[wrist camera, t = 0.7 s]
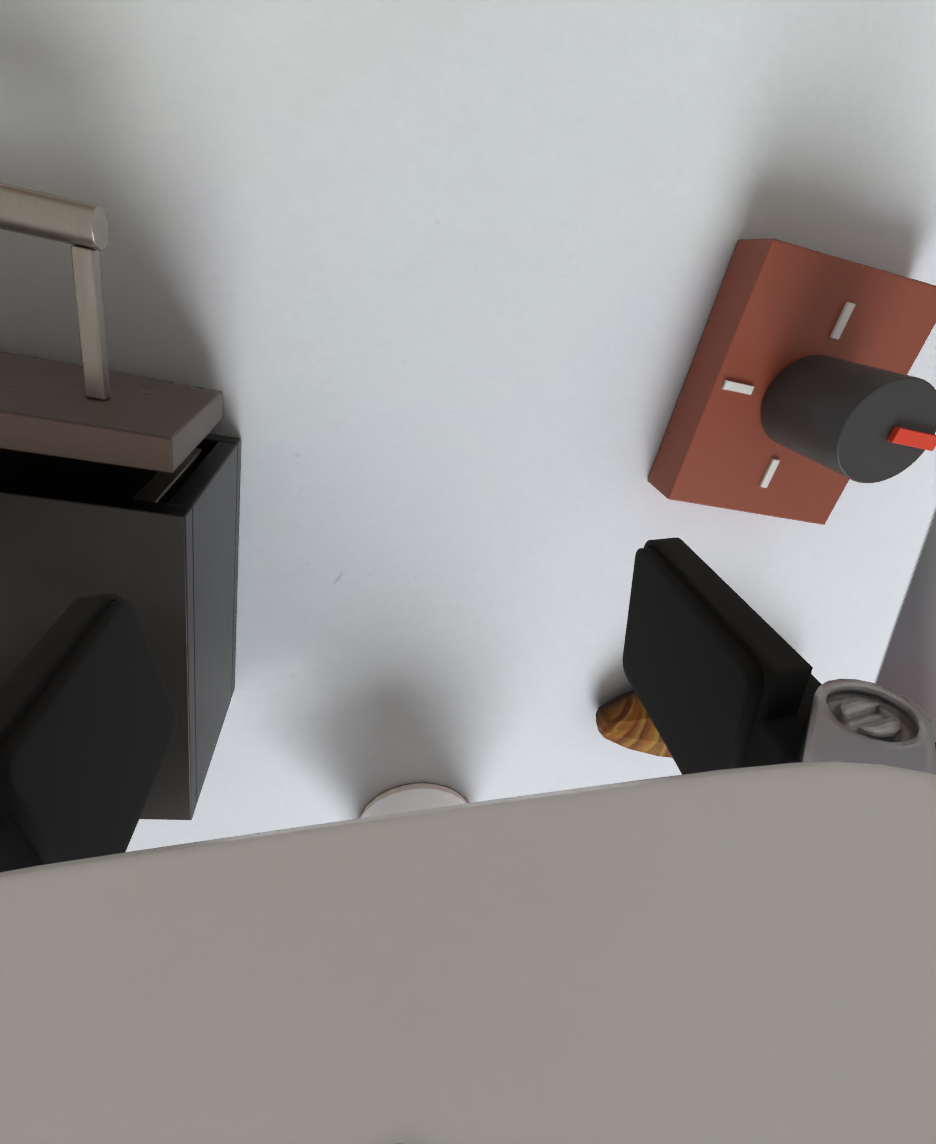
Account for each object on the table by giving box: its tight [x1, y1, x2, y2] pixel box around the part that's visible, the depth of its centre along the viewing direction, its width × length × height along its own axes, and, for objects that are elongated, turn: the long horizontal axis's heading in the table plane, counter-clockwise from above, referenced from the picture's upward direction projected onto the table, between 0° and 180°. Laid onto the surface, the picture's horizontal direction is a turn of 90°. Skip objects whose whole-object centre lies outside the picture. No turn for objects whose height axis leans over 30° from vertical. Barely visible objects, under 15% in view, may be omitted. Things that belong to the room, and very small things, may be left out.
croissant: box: [596, 691, 673, 758], centre depth 35 cm, size 14×7×5 cm, turn 93°
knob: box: [761, 355, 936, 483], centre depth 23 cm, size 4×4×5 cm
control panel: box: [648, 239, 936, 524], centre depth 27 cm, size 11×9×3 cm
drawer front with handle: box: [0, 183, 223, 504], centre depth 21 cm, size 19×12×7 cm, turn 168°
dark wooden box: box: [0, 434, 241, 820], centre depth 24 cm, size 15×14×9 cm
